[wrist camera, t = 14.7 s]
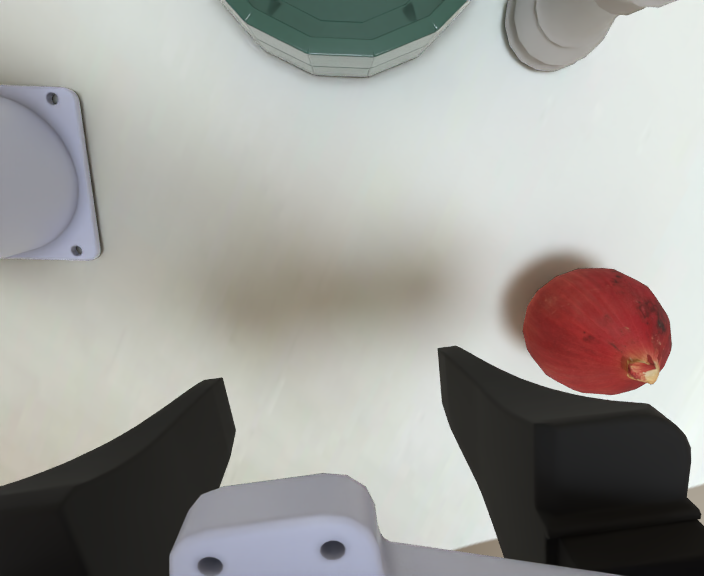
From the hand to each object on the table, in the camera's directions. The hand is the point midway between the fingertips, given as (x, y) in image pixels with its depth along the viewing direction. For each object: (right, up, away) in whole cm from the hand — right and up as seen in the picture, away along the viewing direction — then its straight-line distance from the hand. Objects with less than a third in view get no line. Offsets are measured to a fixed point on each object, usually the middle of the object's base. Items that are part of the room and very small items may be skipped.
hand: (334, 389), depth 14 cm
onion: (+12, +3, +10) cm, 15 cm away
